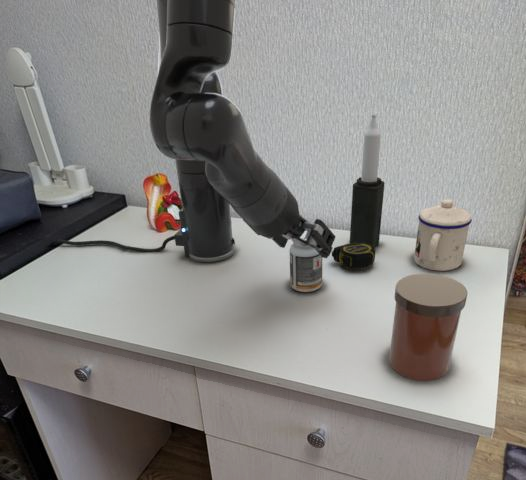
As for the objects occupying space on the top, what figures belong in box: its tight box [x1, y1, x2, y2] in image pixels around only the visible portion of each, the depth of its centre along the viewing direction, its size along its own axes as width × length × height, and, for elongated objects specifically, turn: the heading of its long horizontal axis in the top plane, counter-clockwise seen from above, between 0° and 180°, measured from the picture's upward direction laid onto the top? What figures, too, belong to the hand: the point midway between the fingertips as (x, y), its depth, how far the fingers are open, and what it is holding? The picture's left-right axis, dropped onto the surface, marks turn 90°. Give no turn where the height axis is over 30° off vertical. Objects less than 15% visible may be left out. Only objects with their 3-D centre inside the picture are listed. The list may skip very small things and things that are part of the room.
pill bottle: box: [288, 231, 323, 293], centre depth 85 cm, size 6×6×10 cm
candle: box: [349, 112, 386, 249], centre depth 93 cm, size 5×5×25 cm
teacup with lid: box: [413, 198, 473, 272], centre depth 89 cm, size 12×9×12 cm
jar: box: [388, 273, 468, 382], centre depth 65 cm, size 9×9×12 cm
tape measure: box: [331, 242, 376, 270], centre depth 93 cm, size 7×7×4 cm
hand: (305, 247), depth 84 cm, fingers open, 8 cm apart
